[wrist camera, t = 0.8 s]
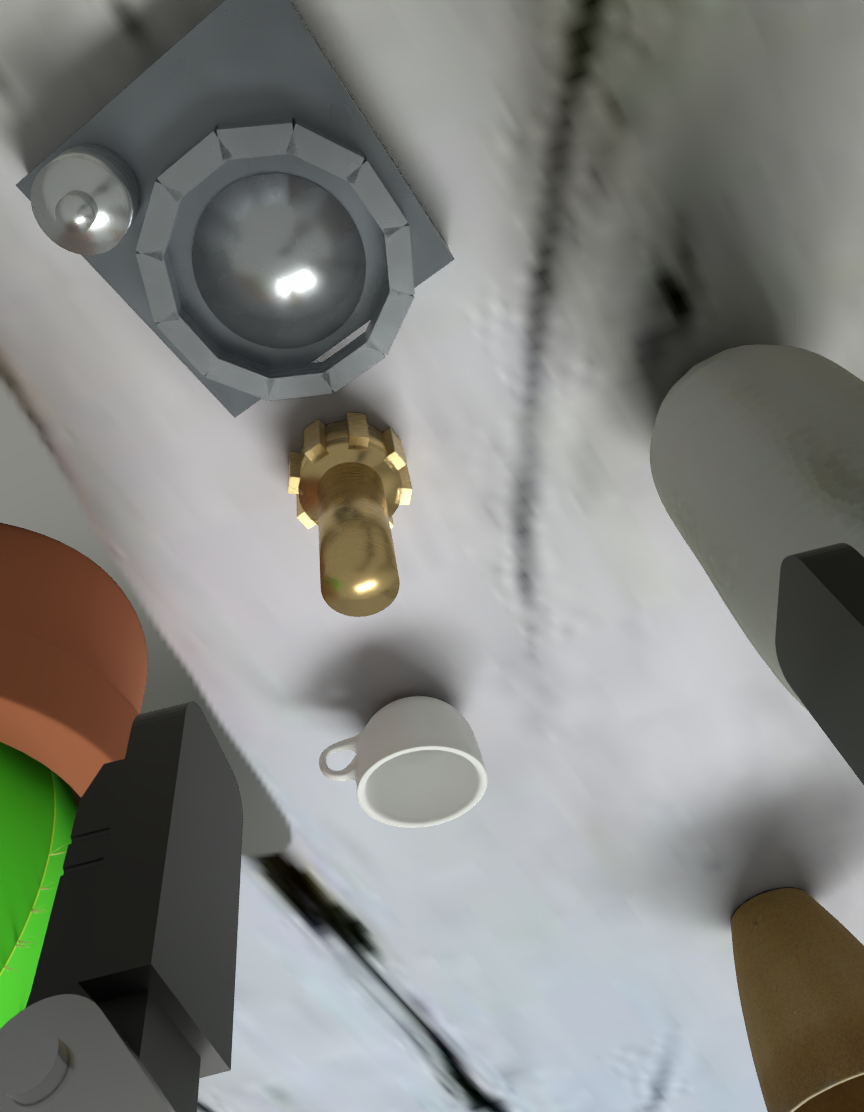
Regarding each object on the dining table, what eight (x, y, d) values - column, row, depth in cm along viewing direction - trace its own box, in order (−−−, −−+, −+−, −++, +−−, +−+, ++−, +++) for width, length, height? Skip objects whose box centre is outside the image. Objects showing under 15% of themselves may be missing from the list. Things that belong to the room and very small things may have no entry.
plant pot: (736, 970, 80) (820, 1164, 67) (663, 918, 72) (742, 1125, 59) (877, 902, 75) (996, 1094, 62) (815, 838, 67) (937, 1043, 55)
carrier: (266, -36, 29) (261, -36, 25) (463, 271, 36) (487, 314, 32) (28, 175, 32) (-16, 209, 27) (255, 420, 39) (250, 479, 35)
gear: (360, 389, 39) (376, 499, 31) (428, 474, 42) (458, 593, 34) (264, 456, 40) (256, 578, 32) (337, 533, 44) (346, 661, 36)
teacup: (480, 678, 51) (497, 743, 47) (463, 759, 56) (476, 826, 51) (320, 678, 50) (322, 746, 45) (315, 763, 54) (317, 832, 50)
